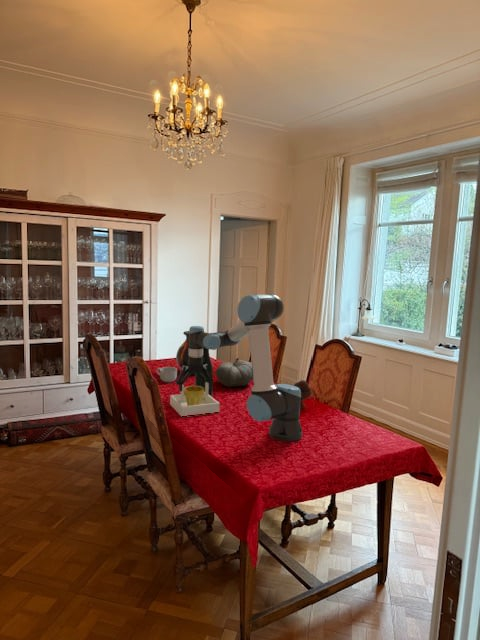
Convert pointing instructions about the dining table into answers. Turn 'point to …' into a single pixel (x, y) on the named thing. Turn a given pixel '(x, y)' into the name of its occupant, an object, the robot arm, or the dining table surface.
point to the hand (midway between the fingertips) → (194, 395)
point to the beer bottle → (199, 378)
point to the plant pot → (193, 395)
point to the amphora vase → (183, 353)
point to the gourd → (235, 373)
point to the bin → (206, 405)
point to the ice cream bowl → (303, 391)
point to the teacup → (167, 373)
